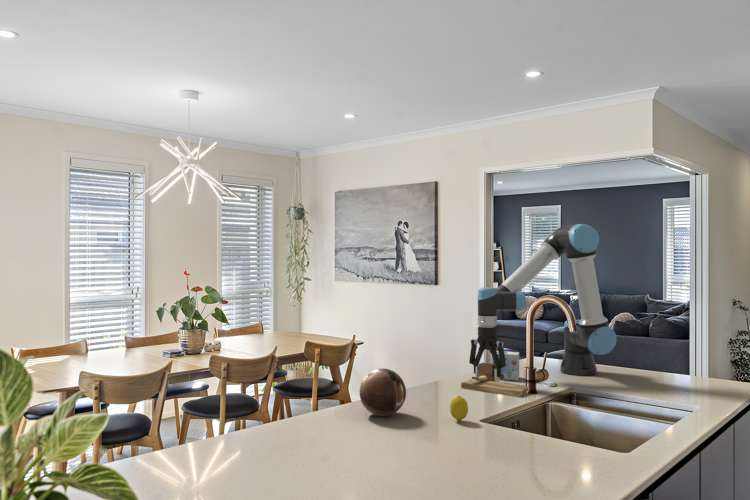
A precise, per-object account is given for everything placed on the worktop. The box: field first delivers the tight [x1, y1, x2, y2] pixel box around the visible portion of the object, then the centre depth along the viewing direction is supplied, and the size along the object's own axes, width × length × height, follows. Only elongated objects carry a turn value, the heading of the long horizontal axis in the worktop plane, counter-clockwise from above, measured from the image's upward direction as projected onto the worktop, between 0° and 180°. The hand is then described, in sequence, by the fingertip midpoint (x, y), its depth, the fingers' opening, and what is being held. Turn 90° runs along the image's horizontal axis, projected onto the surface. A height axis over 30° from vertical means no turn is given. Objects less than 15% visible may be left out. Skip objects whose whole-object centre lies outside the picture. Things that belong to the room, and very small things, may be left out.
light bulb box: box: [492, 350, 520, 381], centre depth 246 cm, size 11×7×11 cm, turn 73°
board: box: [460, 378, 528, 398], centre depth 225 cm, size 10×24×2 cm, turn 52°
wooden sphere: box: [359, 368, 407, 417], centre depth 191 cm, size 15×15×15 cm
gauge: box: [471, 362, 496, 384], centre depth 231 cm, size 14×6×8 cm, turn 142°
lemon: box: [449, 395, 469, 422], centre depth 183 cm, size 6×6×8 cm
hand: (487, 383), depth 235 cm, fingers open, 8 cm apart
